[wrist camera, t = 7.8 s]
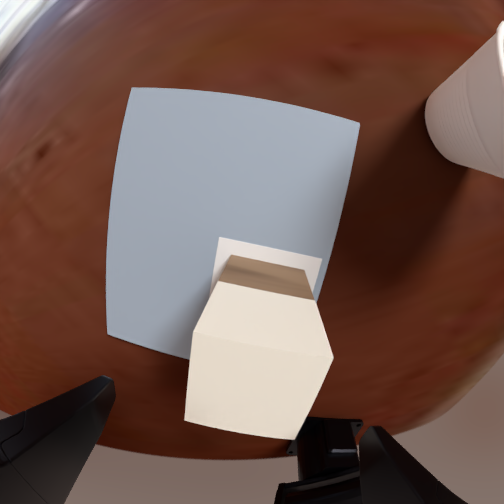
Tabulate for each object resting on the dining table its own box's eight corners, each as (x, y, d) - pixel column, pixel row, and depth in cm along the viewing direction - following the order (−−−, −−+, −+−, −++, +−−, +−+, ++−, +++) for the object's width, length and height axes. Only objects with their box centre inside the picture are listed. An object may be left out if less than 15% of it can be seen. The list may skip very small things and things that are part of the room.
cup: (450, 213, 18) (555, 248, 7) (375, 106, 16) (467, 51, 6) (505, 145, 16) (595, 147, 5) (443, 50, 14) (523, 3, 4)
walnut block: (286, 332, 20) (289, 375, 15) (219, 319, 20) (205, 358, 15) (304, 269, 19) (315, 300, 14) (231, 254, 19) (218, 280, 14)
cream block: (289, 375, 15) (294, 439, 11) (205, 358, 15) (184, 420, 11) (315, 300, 14) (333, 357, 9) (218, 280, 14) (193, 331, 9)
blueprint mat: (289, 375, 22) (289, 380, 21) (110, 330, 22) (107, 334, 22) (357, 124, 17) (360, 123, 16) (135, 89, 17) (131, 87, 16)
